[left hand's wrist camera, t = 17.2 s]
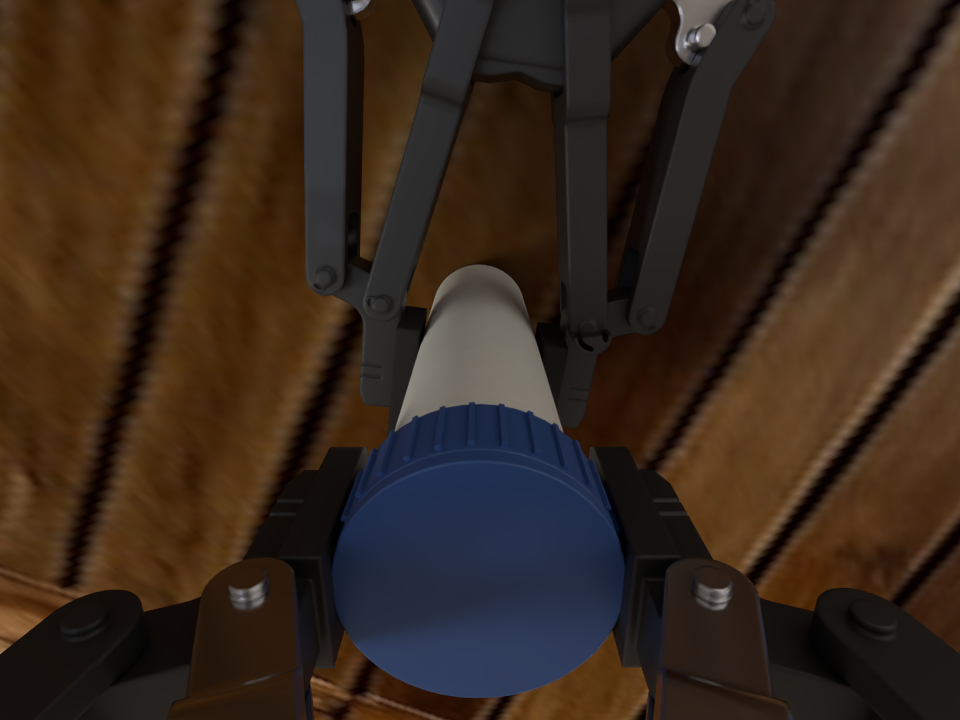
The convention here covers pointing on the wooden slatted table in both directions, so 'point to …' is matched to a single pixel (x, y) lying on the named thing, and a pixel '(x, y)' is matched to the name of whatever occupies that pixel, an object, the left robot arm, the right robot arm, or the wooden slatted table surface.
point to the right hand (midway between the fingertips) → (461, 485)
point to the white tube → (478, 350)
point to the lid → (478, 554)
